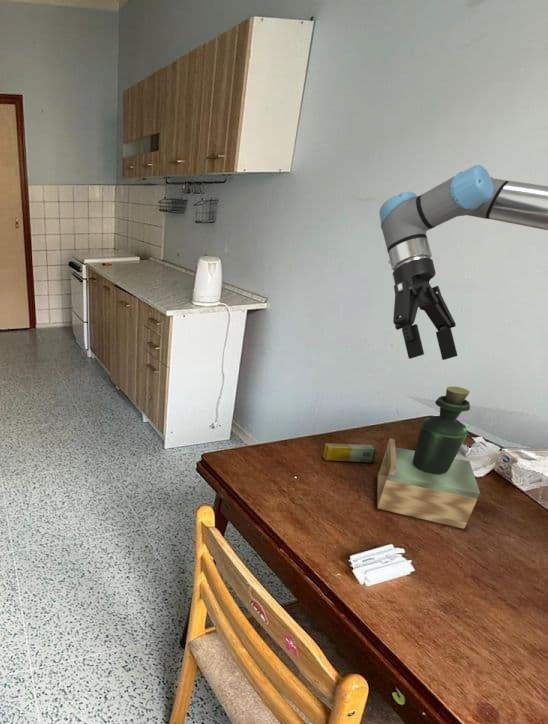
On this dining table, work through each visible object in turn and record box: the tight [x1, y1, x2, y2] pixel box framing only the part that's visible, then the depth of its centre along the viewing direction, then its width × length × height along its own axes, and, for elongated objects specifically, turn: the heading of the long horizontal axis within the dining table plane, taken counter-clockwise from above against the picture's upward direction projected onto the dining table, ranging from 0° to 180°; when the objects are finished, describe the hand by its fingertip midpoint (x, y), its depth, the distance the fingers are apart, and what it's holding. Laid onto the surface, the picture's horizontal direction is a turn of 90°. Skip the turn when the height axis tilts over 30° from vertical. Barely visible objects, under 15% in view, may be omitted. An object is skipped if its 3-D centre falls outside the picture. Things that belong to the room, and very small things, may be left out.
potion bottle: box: [413, 386, 471, 474], centre depth 98 cm, size 8×8×18 cm
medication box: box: [322, 442, 377, 464], centre depth 122 cm, size 12×3×4 cm, turn 85°
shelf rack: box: [376, 437, 481, 530], centre depth 104 cm, size 16×14×11 cm
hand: (433, 357), depth 101 cm, fingers open, 13 cm apart
